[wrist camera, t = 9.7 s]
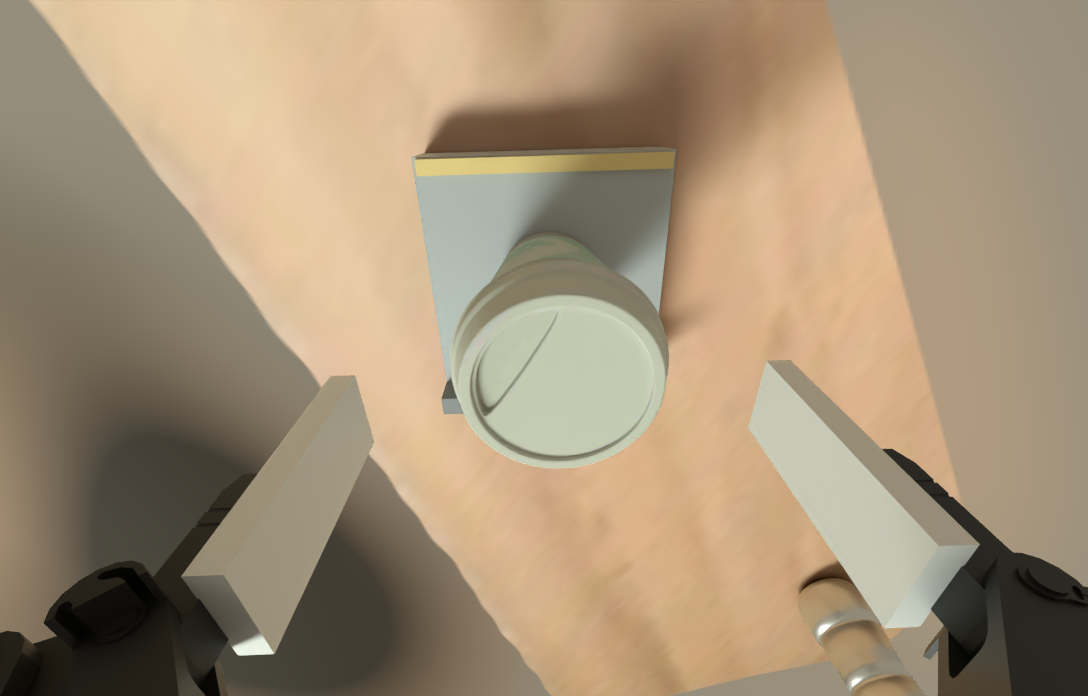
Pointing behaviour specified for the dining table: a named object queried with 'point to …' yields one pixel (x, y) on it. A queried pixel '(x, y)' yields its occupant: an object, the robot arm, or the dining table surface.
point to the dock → (539, 217)
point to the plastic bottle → (854, 640)
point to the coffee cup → (559, 357)
